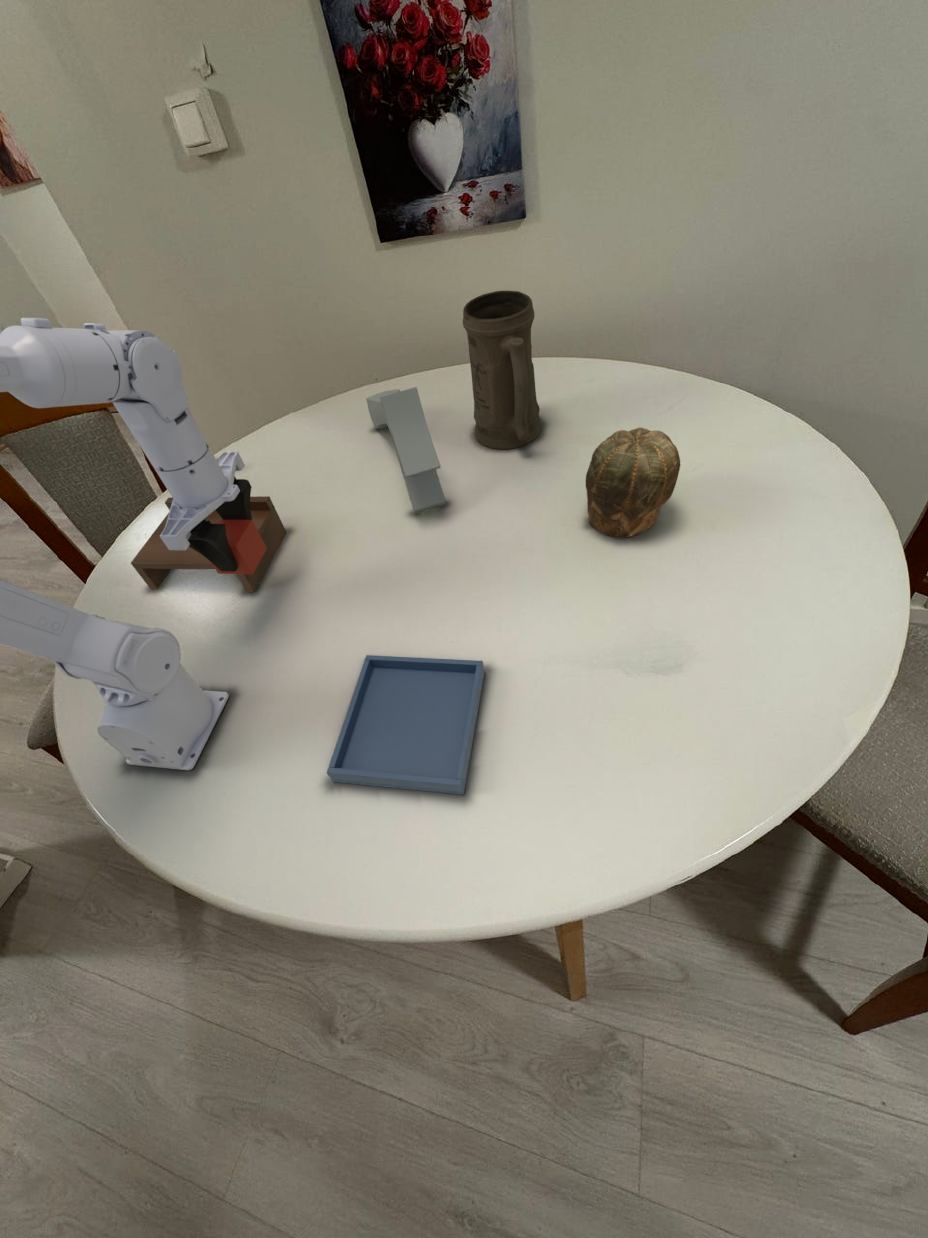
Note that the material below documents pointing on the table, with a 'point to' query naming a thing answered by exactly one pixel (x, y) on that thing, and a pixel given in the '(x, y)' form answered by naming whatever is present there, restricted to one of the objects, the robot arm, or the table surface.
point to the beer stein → (502, 368)
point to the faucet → (410, 444)
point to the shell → (630, 481)
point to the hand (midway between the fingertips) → (238, 554)
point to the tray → (410, 724)
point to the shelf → (160, 560)
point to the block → (243, 545)
